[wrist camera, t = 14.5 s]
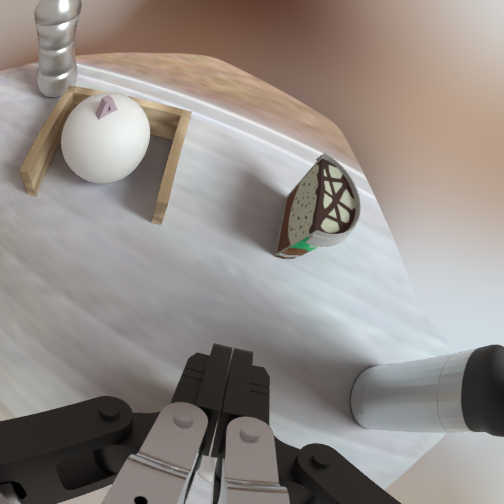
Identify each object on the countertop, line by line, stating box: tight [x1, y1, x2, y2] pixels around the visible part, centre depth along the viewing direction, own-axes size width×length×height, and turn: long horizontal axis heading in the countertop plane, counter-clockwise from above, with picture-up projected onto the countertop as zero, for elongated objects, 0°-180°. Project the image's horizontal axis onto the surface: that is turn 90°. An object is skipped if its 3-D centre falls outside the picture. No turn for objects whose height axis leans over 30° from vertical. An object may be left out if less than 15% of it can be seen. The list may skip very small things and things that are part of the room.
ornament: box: [61, 92, 150, 184], centre depth 31 cm, size 10×10×12 cm
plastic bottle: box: [34, 0, 82, 97], centre depth 28 cm, size 6×7×20 cm
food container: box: [275, 153, 361, 259], centre depth 39 cm, size 12×6×10 cm, turn 167°
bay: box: [19, 86, 192, 225], centre depth 34 cm, size 17×14×5 cm
